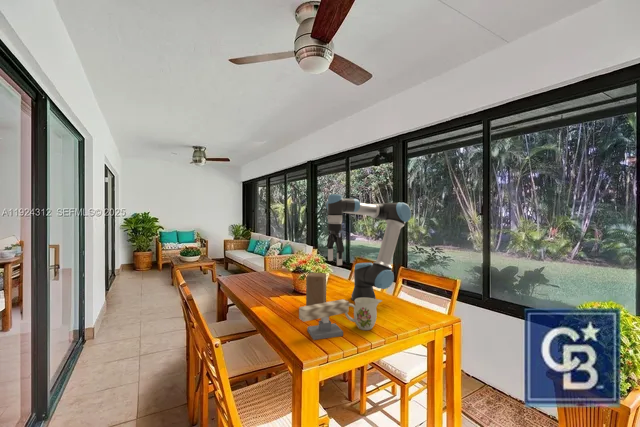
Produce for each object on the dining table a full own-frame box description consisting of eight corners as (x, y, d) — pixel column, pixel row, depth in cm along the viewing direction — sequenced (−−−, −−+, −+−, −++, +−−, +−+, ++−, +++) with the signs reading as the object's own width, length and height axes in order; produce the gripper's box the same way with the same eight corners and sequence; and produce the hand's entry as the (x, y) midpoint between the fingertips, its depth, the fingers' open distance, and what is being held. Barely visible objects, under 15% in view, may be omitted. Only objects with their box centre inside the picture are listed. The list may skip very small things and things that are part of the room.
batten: (343, 309, 144) (343, 299, 144) (348, 312, 140) (348, 301, 140) (299, 318, 132) (299, 307, 132) (303, 321, 128) (303, 310, 128)
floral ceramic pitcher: (346, 321, 151) (346, 294, 150) (382, 324, 146) (382, 297, 146) (342, 329, 140) (343, 301, 140) (381, 333, 136) (381, 304, 135)
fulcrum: (335, 327, 143) (335, 309, 143) (343, 335, 133) (343, 317, 133) (307, 330, 139) (307, 313, 138) (313, 339, 129) (313, 320, 129)
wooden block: (323, 312, 163) (323, 276, 163) (305, 311, 165) (305, 275, 165) (326, 306, 173) (326, 272, 173) (309, 305, 175) (309, 272, 175)
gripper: (321, 222, 168) (320, 259, 168) (336, 224, 144) (336, 267, 144) (333, 222, 170) (333, 258, 170) (350, 224, 146) (350, 266, 146)
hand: (334, 262), depth 157 cm, fingers open, 13 cm apart
